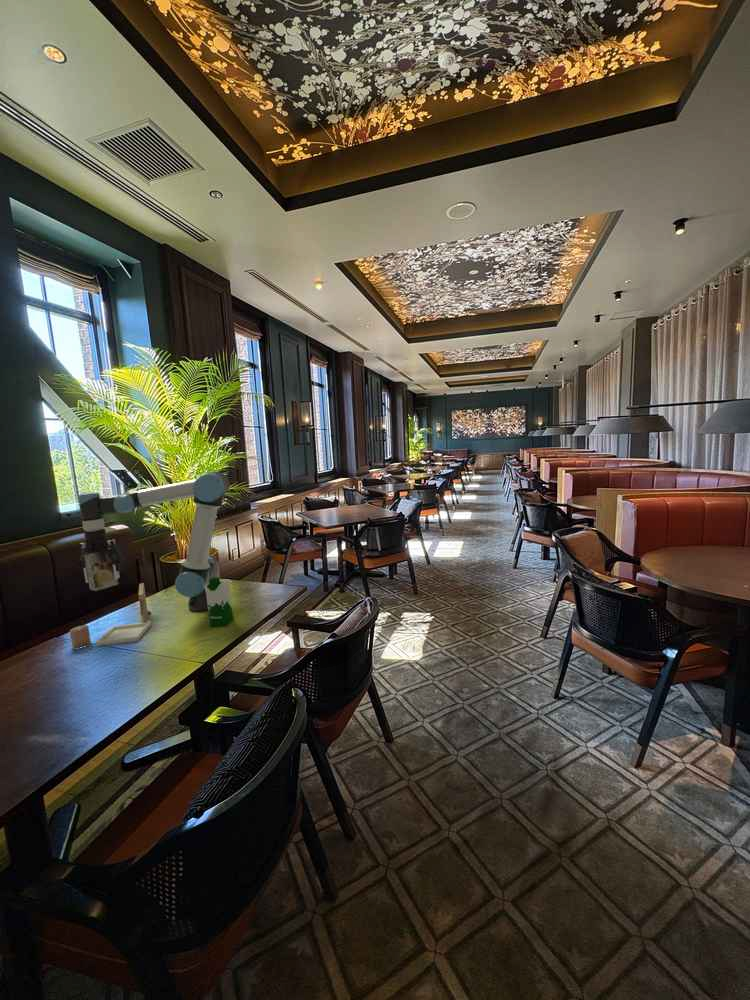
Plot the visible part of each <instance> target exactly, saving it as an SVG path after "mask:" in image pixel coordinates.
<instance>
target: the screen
mask: <svg viewBox="0 0 750 1000" xmlns="http://www.w3.org/2000/svg"><path fill="white" fill-rule="evenodd" d="M145 590H146V589H145V583H144V582H142V583H139V585H138V602H139V608H140V617H141V621H139V623H142V622H150V621H151V619H148V618H149V617H148V616H149V615H150V614H151V612H152V611H151V609H148V605H147V597H146V591H145Z"/></svg>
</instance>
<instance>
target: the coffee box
mask: <svg viewBox="0 0 750 1000" xmlns="http://www.w3.org/2000/svg"><path fill="white" fill-rule="evenodd" d="M108 548H109V549H107V551H109V552H110V553H112V554H114V551H113V550H112V548H111V547H108ZM84 558H85V565H86V570H87V576H88V581H89V582H88V585H89V590H91V591H92V590H93V591H95V592H97V591H100V590H104V589H107V588H111V587H114V586H117V585H119V578H118V579H115V575H114V569H113V564H115V563H114V562H113V561H112V560H111V559H110V558H109V557H108V556H107V555H106V552H104V551H102V550H101V551H91V552H87V551H84V553H83V559H84Z"/></svg>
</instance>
